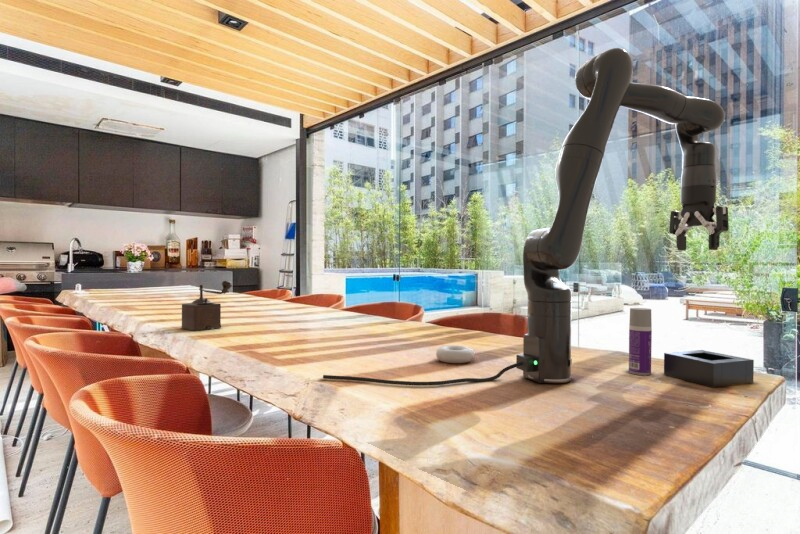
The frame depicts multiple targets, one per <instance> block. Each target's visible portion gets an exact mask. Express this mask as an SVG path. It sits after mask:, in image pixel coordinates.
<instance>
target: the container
mask: <svg viewBox="0 0 800 534" xmlns="http://www.w3.org/2000/svg"><path fill="white" fill-rule="evenodd" d="M628 325H629V326H628V327H629V328H628V329H629V330H628V373H629V374H632V375H636V376H637V375H638V376H650V375H652V342H653V341H652V338H653V337H652V333H653V330H652V329H653V328H652V325H653V324H652V309H651V308H646V307H630V308H629V324H628Z"/></svg>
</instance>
